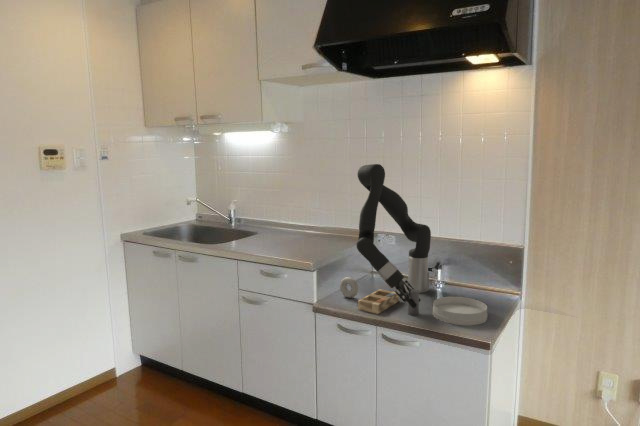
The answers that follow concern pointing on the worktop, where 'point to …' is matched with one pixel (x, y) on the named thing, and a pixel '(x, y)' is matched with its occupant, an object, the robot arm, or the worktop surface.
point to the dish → (460, 310)
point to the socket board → (378, 301)
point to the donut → (353, 287)
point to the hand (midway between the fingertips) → (417, 304)
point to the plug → (415, 296)
